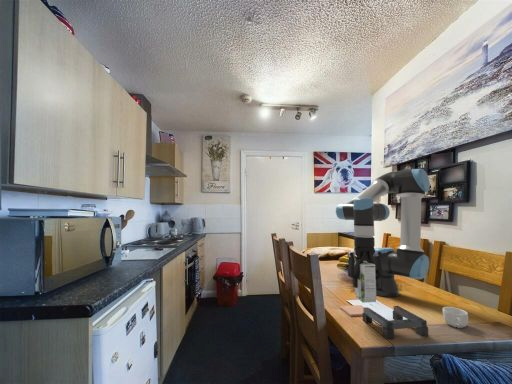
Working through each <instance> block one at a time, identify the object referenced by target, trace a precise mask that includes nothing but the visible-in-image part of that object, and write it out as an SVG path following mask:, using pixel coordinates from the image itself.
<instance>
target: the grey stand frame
mask: <svg viewBox="0 0 512 384" xmlns="http://www.w3.org/2000/svg"><path fill="white" fill-rule="evenodd" d="M392 308H393V310H392V320H390V319H389V320H388V319H387V318H385V317H384V316H382V315H381V314H379V313H378V312H376V311H374V310H373V309H371V308H370V307H364V308H363V312H364V313H363V316H362V322H364V323H365V324H373V321H374V322H376V323H377V324H379V325H380V326H382V327H381V330H382V331H381V333H382V337H384V338H385V339H387V340H394V339H395V330H399V329H414V328H415V333H416V334H417V335H419V336H420V337H421V338H422V337H423V338H424V337H429V327H428V324H427V323H428V322H427V320H426V319H424V318H422V317H420V316H418V315H416V314H415V313H412V312H411V311H408V310H407V309H405V308H403V307H401V306H399V305H393V307H392ZM404 318H405V319H404Z"/></svg>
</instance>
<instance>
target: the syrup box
mask: <svg viewBox="0 0 512 384" xmlns="http://www.w3.org/2000/svg"><path fill="white" fill-rule="evenodd" d="M355 264H356V261H355V263H354V265H355ZM358 279H359V280H360V294H361V297H358V296H356V295H355V299H357V300H359V301H360V302H362V303H376V302H377V295H376V278H375V264H372V263H369V262H367V261H366V260H364V261H363V263H362V264H360V274H359V278H358Z"/></svg>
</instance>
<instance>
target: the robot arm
mask: <svg viewBox="0 0 512 384" xmlns="http://www.w3.org/2000/svg"><path fill="white" fill-rule="evenodd" d="M430 182H431V181H430V179H429V175H428V173H427V172H426V170H424V169H423V168H412V169H405V170H404V169H402V170H396V171H395V170H394V171H389V172H386V173H384V174H382V175H380V176H378V177H376V179H373V181H372V182H371V183H370V185H369V186H368V187H367V188H365V189H364V190H363V191H361V192H359V194H357V195H356V196H355V197H354V198H352V199H350V200H349V201H348V202H347V203H340V204H338V205H337V206H336V208H335V215H336V217H337V218H338V220H339V219H340V220H345V221H353V235H354V237H353V242H354V249H353V250H352V251H347V257H348V263H347V267H348V268H347V277H349V278H351V279H352V286H353V288H354V295H355V297H356V296H358V297H361V294H360V280H359V279H358V278H359V274H360V264H362V263H363V261H366V262H369V263H372V264H375V278H376V296H379V297H385V298H386V297H387V298H389V297H390V298H393V297H394V298H395V297H398V296H400V289H399V288H398V284H397V282H396V279H395V276H400V277H404V278H410V279H416V280H423V279H424V278H425V277H426V275H427V274H428V272H429V268H430V259H429V256H427V255H426V254H425V250H424V249H422V247H421V241H422V240H421V235H422V233H421V231H422V229H421V228H422V227H421V226H422V199H423V198H424V197H426V193H427V192H428V191H430V189H431V188H430V187H431V183H430ZM395 193H396V194H397V195H398V197H400V198H401V199H400V201H401V202H400V242H399V243H400V244H399V246H397V247H396V251H395V249H394V247H375V245H376V244H375V243H376V242H375V238H374V236H375V222H382V221H385V220H387V219H388V218H389V216H390V212H391V211H390V209H389V207H388V205H386V204H384V203H381V202H376V201H377V200H378V199H380V198H381V197H384V196H386V195H387V194H395ZM355 262H356V264H355Z"/></svg>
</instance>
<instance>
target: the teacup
mask: <svg viewBox="0 0 512 384" xmlns="http://www.w3.org/2000/svg"><path fill="white" fill-rule="evenodd" d="M442 317H443V319H444V322H445V323H446V324H447V325H449V326H450V327H452V328H456V327H457V328H458V329H463V328H465V327H467V326H468V324H469V313H468V311H466V310H464V309H461V308H458V307H454V306H443V307H442Z"/></svg>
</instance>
